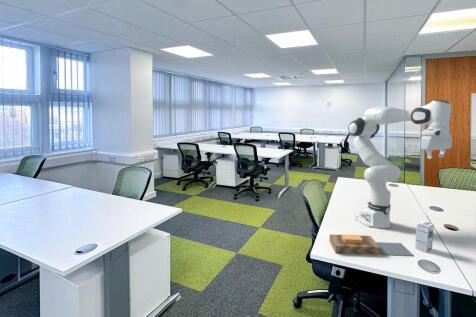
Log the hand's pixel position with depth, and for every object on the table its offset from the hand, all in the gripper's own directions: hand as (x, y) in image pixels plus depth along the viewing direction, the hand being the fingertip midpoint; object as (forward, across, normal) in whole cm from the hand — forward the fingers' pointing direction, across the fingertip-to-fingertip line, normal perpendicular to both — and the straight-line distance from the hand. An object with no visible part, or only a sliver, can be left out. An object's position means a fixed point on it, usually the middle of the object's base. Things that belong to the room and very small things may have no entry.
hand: (435, 158), depth 150 cm
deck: (+48, +40, -14) cm, 64 cm away
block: (+44, +41, -14) cm, 62 cm away
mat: (+48, +23, -4) cm, 53 cm away
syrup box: (+48, +8, +3) cm, 49 cm away
